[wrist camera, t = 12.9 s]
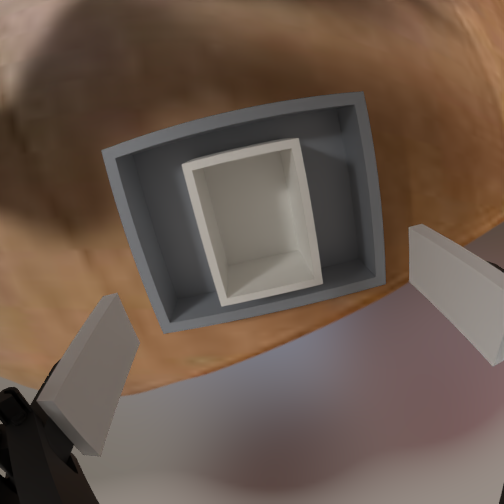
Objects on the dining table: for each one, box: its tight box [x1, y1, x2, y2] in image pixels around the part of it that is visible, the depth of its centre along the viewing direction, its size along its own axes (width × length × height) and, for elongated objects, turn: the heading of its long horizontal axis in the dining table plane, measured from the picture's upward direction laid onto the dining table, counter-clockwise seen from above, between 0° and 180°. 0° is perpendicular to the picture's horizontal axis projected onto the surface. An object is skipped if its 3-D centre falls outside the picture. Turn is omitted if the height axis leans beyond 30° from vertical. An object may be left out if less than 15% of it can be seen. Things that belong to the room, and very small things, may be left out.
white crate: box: [181, 138, 323, 307], centre depth 25 cm, size 11×8×7 cm
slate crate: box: [101, 91, 386, 334], centre depth 27 cm, size 17×21×6 cm
